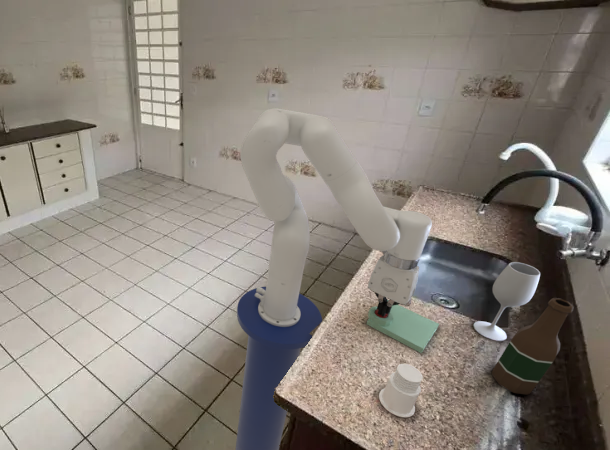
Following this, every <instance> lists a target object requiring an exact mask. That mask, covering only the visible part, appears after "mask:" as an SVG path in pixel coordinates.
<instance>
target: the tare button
mask: <svg viewBox="0 0 610 450" xmlns="http://www.w3.org/2000/svg"><path fill="white" fill-rule="evenodd" d="M377 313H378V310H376V311H375V314H376V315H377V316H378V317H381V318H387V314H386V315H385V316H384V317H382V316H381V315H378V314H377Z"/></svg>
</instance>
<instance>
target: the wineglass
mask: <svg viewBox="0 0 610 450" xmlns="http://www.w3.org/2000/svg"><path fill="white" fill-rule="evenodd" d="M540 277H541V272H540V271H539V269H537V268H536V267H534V266H532V265H530V264H527V263H523V262H519V261H512V262H510V263H508V264H507V265H506V266H505V267H504V269H503V270H502V271H501V272H500V274H498V276H497V277H496V279H495V280H494V282H493V285H492V294H493V296H494V298H495V299H496V301H497V302H498V303H499V304H500V308H499V310H498V312H497V314H496V315H495V317H494V319H493V320H492V322H487V321H481V320H477V321H475V322H474V323H473V328H474V330H475V331H476V332H477V333H478V334H480V335H481V336H482V337H484V338H487V339H488V340H491V341H495V342H503V341H506V340H507V338H508V335H507V333H506V332H505V330H504V329H502V328H501V327H499V326H498V325H496V324H497V323H498V321H499V319H500V317H501V315H502V314H503V312H504V310H505V309H506V308H510V307H511V308H513V307H520V306H524V305H526V304H527V303H529V302H530V301H531V299H532V298H533V296H534V295H535V293H536V290H537V288H538V286H539V285H538V284H539V281H540Z"/></svg>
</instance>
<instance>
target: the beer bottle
mask: <svg viewBox="0 0 610 450" xmlns="http://www.w3.org/2000/svg"><path fill="white" fill-rule="evenodd" d="M547 304H548V306H547V307H546V308H545V310H544V311H543V312H542V313H541V315H540V316H539V317H538V319H537V320H536V321H535V322H534V323H532V324H530V325H525V326H522V327H521V328H519V329H518V330H517V331H516V333H515V334H514V335H513V337H512V338H511V339H510V341H509V342H508V344H507V346H506V347H505V349H504V350H503V352H502V354H501V355H500V357H499V359H498V361H497V362H496V364H495V365H494V367H493V369H492V371H491V376H492V377H493V379H494V380H495V382H496V383H497V384H498V385H499V386H501V387H502V388H504V389H506V390H508V391H509V392H512V393H513V394H519V395H530V394H531V393H532V392H533V391H534V389H535V388H536V386H537V385H538V383H539V382H540V381H541V380H542V378H543V376H545V374H546V373H547V371H548V370H549V369H550V367H551V366H552V364H554V361H555V359H556V358H557V355H558V354H559V352H560V350H561V342H560V338H559V336H558V334H559V332H560V329H561V328H562V326H563V324H564V322H565V321H566V319H567V317H568V315H569V314H572V313H573V311H574V307H575V306H574V305H573V304H572V303H571V302H569V301H567V300H565V299H562V298H559V297H558V298H557V297H553V298H551V299H549V301H548V302H547Z"/></svg>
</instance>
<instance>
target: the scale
mask: <svg viewBox="0 0 610 450" xmlns="http://www.w3.org/2000/svg"><path fill="white" fill-rule="evenodd" d="M377 307H378V305H375V306H371V307H370V308H369V309H368V313H367V317H368V319H367V321H366V325H367V326H368V327H371V328H373V329H374V330H377V331H378V332H380V333H382V334H383V335H386V336H387V337H390V338H392V339H394V340H395V341H397V342H399V343H401V344H402V345H404V346H406V347H408V348H411V349H412V350H414V351H416V352H418V353H419V354H422V353H423V352H424V350H425V349H426V347H427V345H428V344H429V342H430V341H431V339H432V338H433V336H434V334H435V333H436V331H437V330H438V328H439V326H440V323H439V322H436V321H434V320H432V319H429V318H427V317H426V316H423V315H422V314H419V313H417V312H415V311H413V310H411V309H409V308H407V307H405V306H403V305H401V304H399V305H394V306H392V308H391V311H390V313H389V314H387V318H381V317H378V316H377V315H376V314H375V311H376V310H378V309H377Z"/></svg>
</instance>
